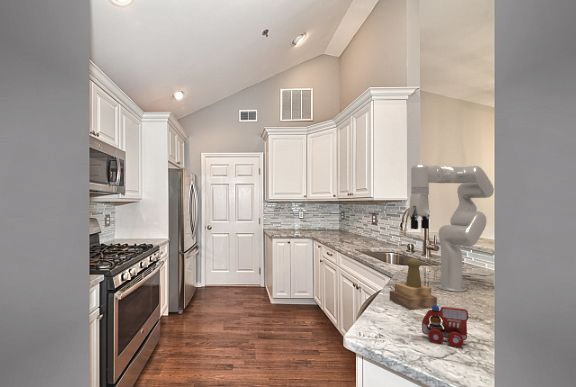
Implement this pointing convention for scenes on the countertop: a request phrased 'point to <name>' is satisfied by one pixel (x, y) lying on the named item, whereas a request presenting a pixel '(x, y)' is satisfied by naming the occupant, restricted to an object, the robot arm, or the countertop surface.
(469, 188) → the robot arm
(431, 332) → the toy fire truck
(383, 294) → the countertop surface
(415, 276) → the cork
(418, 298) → the stepped wooden base
